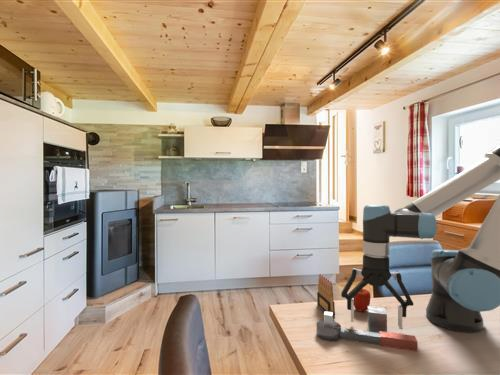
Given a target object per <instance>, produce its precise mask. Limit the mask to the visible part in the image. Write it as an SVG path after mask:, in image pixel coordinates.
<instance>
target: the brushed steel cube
mask: <svg viewBox="0 0 500 375" xmlns="http://www.w3.org/2000/svg"><path fill="white" fill-rule="evenodd" d="M367 327H368V331H369V332H377V333H379V331H383V332H388V312H387V311H386V307H382V306H373V305H369V306H368V309H367Z"/></svg>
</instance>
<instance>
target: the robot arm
mask: <svg viewBox="0 0 500 375" xmlns="http://www.w3.org/2000/svg"><path fill="white" fill-rule="evenodd" d="M499 180H500V144H498V145H497V146H495V147H494V148H492V149H491V150H490V151H488V152H486V153H485V154H484V158H483V159H481V160H480V161H478V162H476V163H475V164H473V165H471V166H470V167H468V168H466V169H464V170H463V171H461V172H460V173H458V174H456V175H455V176H453V177H452V178H450V179H448V180H447V181H445V182H443V183H441V184H439V186H436V187H435V188H433V189H432V190H430V191H429V192H427V193H426V194H424V195H422V196H421V197H418V198H417V199H416V200H414V201H412V202H411V203H409V204H407V205H406V206H404V207H401V208H398V209H396V210H394V211H391V209H390V206H389V205H385V204H367V205H365V206H364V207H363V212H362V214H363V215H362V253H363V255H362V268H361V269H358V268H356V267H352V269H351V275H350V277H349V278H348V280H347V281H346V283H345V285H344V287H343V289H342V290H341V293H340V295H341V297H342V298H344V299H346V301H347V302H346V308H347V310H348V311H350V322H351V323H355V322H354V317H355V315H354V314H355V313H354V310H355V307H354V298H353V297H354V296H355V295H356V294H357V293H358V292H359V291H360V290H361V289H364V287H366V286H367V285H370V286H376V287H383V286H384V287H386V289H387V290H388V291H389V292H390V294H392V295H393V297H394V298H395V299H396V300H397V302H398V304H397V326H398V329H400V330H403V318H407V308H408V307H412V306H414V301H413V300H412V298H411V296H410V294H409V292H408V290H407V288H406V287H405V284H404V283H403V280H402V275H401V273H400V272H399V271H397V270H396V271H395V272H391V271H390V257H389V256H390V239H391V238H390V237H392V238H397V237H398V238H410V239H420V240H423V239H434V238H435V237H436V234H437V230H438V228H437V226H438V225H437V218H436V217H437V216H439V215H440V214H442V213H444V212H446V211H447V210H449V209H450V208H453V207H455V206H456V205H458V204H460V203H461V202H464V200H466V199H468V198H470V197H472V196H473V195H475V194H477V193H478V192H481V191H482V190H484V189H486V188H487V187H489V186H490V185H493V184H494V183H497V182H498V181H499ZM430 261H431V262H430V264H431V266H430V267H431V295H430V298H429V300H428V303H427V305H426V309H425V316H426V318H427V320H429V321H430V322H432V323H433V324H435V325H437V326H438V327H442V328H444V329H448V330H451V331H456V332H461V333H462V332H464V333H476V332H477V333H478V332H481V331H483V330H484V327H485V326H484V318H483V315H482V313H481V312H490V311H493V310H495V309H497V308H498V307H500V194H499V195H498V197H497V198H496V200H495V202H494V203H493V205H492V206H491V209H489V212H488V214H487V215H486V217H485V219H484V220H483V221H482V223H481V225H480V228H478V231H477V232H476V234H475V235H474V238H473V239H472V241H471V242H470V245H469V246H468V247H464V248H460V249H458V250H457V249H456V250H455V249H443V248H442V249H441V248H440V249H438V248H437V249H434V250H432V251H431V257H430ZM360 275H361V276H362V277H363V278H362V279H361V280H360V282H359V283H357V284H356V286H355V287H353V289H351V287H352V285H353V283H354V281H355V280H356V278H357V277H359V276H360ZM391 278H393V280H395V281H396V282H397V284H398V286H399V288H400V290H401V292H402V293H403V296H404V297H405V299H404V298H403V297H402V296H401V295H400V294H399V293H398V292H397V291H398V290H396V289H395V288H394V287H393V286H392V284H391V283H390V281H389V280H390V279H391ZM350 289H351V291H350ZM349 291H350V292H349Z"/></svg>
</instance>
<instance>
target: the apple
mask: <svg viewBox="0 0 500 375" xmlns="http://www.w3.org/2000/svg"><path fill="white" fill-rule="evenodd" d="M353 298H354V310H356V312H366V311H367V312H368V306H371V305H370V304H371V292H370V290H367V289H365V288H362V289H361V290H360V291H359V292H358V293H357V294H356V295H355V296H354V297H353Z"/></svg>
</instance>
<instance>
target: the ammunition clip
mask: <svg viewBox="0 0 500 375" xmlns="http://www.w3.org/2000/svg"><path fill="white" fill-rule="evenodd" d="M333 288H334V287H333V283H332V281H330V280H329V279H328V278H326V277H325V276H323V274H321V273H319V275H318V282H317V293H316V294H317V296H316V297H317V298H316V300H317V301H316V302H317V305H316V306H318V308H319V309H320V310H321V311H323V313H324V312H325V311H326V312H333V318H335V317H336V311H335V305H336V304H335V300H334V289H333Z"/></svg>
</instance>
